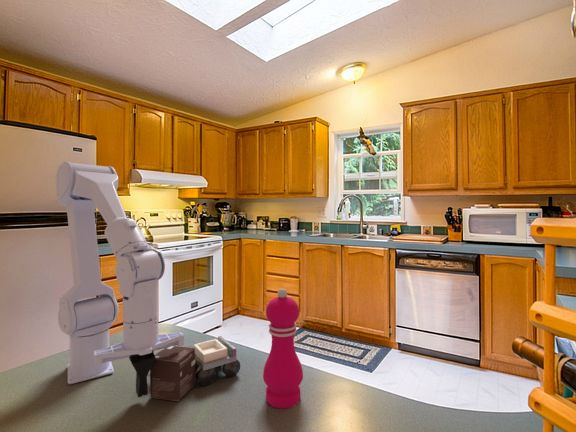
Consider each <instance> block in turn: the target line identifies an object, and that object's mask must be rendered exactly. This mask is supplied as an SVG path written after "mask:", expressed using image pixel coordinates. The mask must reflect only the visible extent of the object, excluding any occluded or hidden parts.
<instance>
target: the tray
mask: <svg viewBox="0 0 576 432" xmlns="http://www.w3.org/2000/svg"><path fill="white" fill-rule="evenodd" d="M193 348H195V354H196V355H197V356H198V357H199V358H200V359H201V360H202V361H203V362H204V363H205V362H209V361H212V360H216V359H219V358H223V357H226V356H227V348H226V347H225V346H224V345H223V344H222V343H220V342H219V341H218V338H214V339H211V340H210V339H209V340H205V341H203V342H198V343H195V344H193Z"/></svg>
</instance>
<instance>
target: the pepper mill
mask: <svg viewBox="0 0 576 432" xmlns="http://www.w3.org/2000/svg"><path fill="white" fill-rule="evenodd" d="M265 316H266V319H267V320H268V321H269V324H268V328H269V329H268V333H269V334H270V335H271V347H270V351H269V353H268V356H267V359H266V361H265V364H264V367H263V371H262V372H263V373H262V378H263V382H264V383H265V385H266V388H265V399H266V402H267V404H268V405H270V406H271V407H273V408H276V409H289V408H293V407H294V406H297V405H298V404H299V402H300V401H301V387H300V385H301V383H302V381H303V378H304V373H303V372H304V371H303V366H302V362H301V361H300V359H299V357H298V355H297V352H296V349H295V340H294V339H295V335H296V333H297V330H298V329H297V323H296V321H297V320H298V319H299V317H300V308H299V304H298V303H297V301H296V300H295V299H294V298H291V297H289V296H288V291H287V289H286V288H279V289H278V291H277V296H276V297H274V298H271V300H269V302H268V304H266V309H265Z"/></svg>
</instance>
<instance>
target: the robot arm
mask: <svg viewBox="0 0 576 432" xmlns="http://www.w3.org/2000/svg"><path fill="white" fill-rule="evenodd" d="M55 186H56V187H55V188H56V189H55V190H56V196H57V197H56V198H57V202H58V204H59V205H61V206H63V207H65V208H66V215H67V224H68V225H67V226H68V235H69V237H68V238H69V245H70V257H71V267H72V275H73V276H72V277H73V278H72V279H73V286H72V287H70V289H68V290H67V291H66V292H65V293H64V294H62V295H61V297H60V298H59V301H58V302H59V303H58V308H59V309H58V313H57V322H58V326H59V328H60V331H61V332H62V333H64V334H65V335H67V336H69V337H68V338H69V340H68V341H69V343H68V344H69V363H68V364H67V384H68V385H73V384H77V383H79V382H80V383H81V382H85V381H88V380H91V379H96V378H100V377H103V376H107V375H110V374H111V375H112V374H113V373H115V371H114V367H113V363H112V362H113V361H117V360H122V359H127V358H128V359H129V361H130V363H131V366H133V369H134V370H135V372H136V374H135V375H136V376H135V377H136V378H135V393H136V395H137V398H140V397H143V396H148V393H149V392H148V391H149V389H148V388H149V387H148V375H149V374H150V369H151V367H152V365H153V363H154V361H155V355H156V354H155V353H154V352H155V351H160V350H164V348H167V347H171V346H175V345H176V346H178V347H182V346H184V344H185V341H184V338H185V337H184V336H185V335H184V334H183V333H182V332H181V331H178V332H174V333H173V332H172V333H171V332H170V333H164V334H163V333H162V334H159V280H161V279H162V278H163V276H164V274H165V270H166V264H165V263H166V262H165V259H164V257H163V254H162V252H161V251H160V250H159V249H157V248H154V246H153V245H150V244H148V241H147V240H146V238H145V235H143V232H142V230H141V229H140V226H139V225H138V224H137V221H136V220H134V219H132V218H130V217H129V218H128V216H127V214H126V213H125V210H124V207H123V205H122V202H121V199H120V197H119V195H118V191H117V190H118V187H119V176H118V174H117V171H116V169H115V168H114V167H113V166H111V165H107V166H106V165H105V166H103V165H95V164H88V163H87V164H86V163H79V162H78V163H77V162H70V161H62V163H61V164H59V166H58V168H57V171H56V174H55ZM96 209H97V211H98V212H99V214H100V215H101V217H102V218H103V220H104V221H105V223H106V225H107V226H106V228H105V230H104V236H105V237H106V240H107V243H108V245H109V246H110V248H111V250H112V253H113V255H114V257H115V259H116V266H115V269H114V272H115V277H116V279H117V282H118V283H117V284H118V286H119V287H118V289H119V290H118V291H119V295H120V296H122V321H123V322H122V324H123V325H122V329H123V332H122V334H123V335H122V337H123V338H122V339H123V341H122V342H119V343H117V344H116V343H115V344H112V345H110V328H111V327H113V323H114V322H115V321H116V320H117V319H118V315H119V311H120V310H119V309H120V308H119V303H118V301H117V299H116V295H115V291H114V288H113V287H111V286H109V285H107V284H106V283H104V282H103V281H102V275H101V267H100V266H101V265H100V255H99V246H98V237H97V236H98V235H97V234H98V233H97V228H96V215H95V210H96ZM95 296H96V297H95ZM91 297H92V298H91ZM81 299H82V300H81Z"/></svg>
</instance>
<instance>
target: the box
mask: <svg viewBox="0 0 576 432" xmlns="http://www.w3.org/2000/svg"><path fill="white" fill-rule="evenodd" d="M154 355H155V361H154V363H153V365H152V367H151V369H150V371H149V378H150V379H149V381H150V382H149V385H150V388H149V389H150V391H149V392H150V393H149V394H150V395H149V397H150V398H153V399H161V400H168V401H175V402H179V401H181V400H182V399H183V398H184V397H185V396H186V395H187V394H188V393H189V392H190V391H191V390H192V389H193V388H194V387H195V386H196V381H197V380H196V378H195V348H194V347H189V346H187V347H186V346H177V345H176V346H171V347H167V348H165V349H164V348H163V349H160V350H159V351H158V352H157V353H156V354H154Z"/></svg>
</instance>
